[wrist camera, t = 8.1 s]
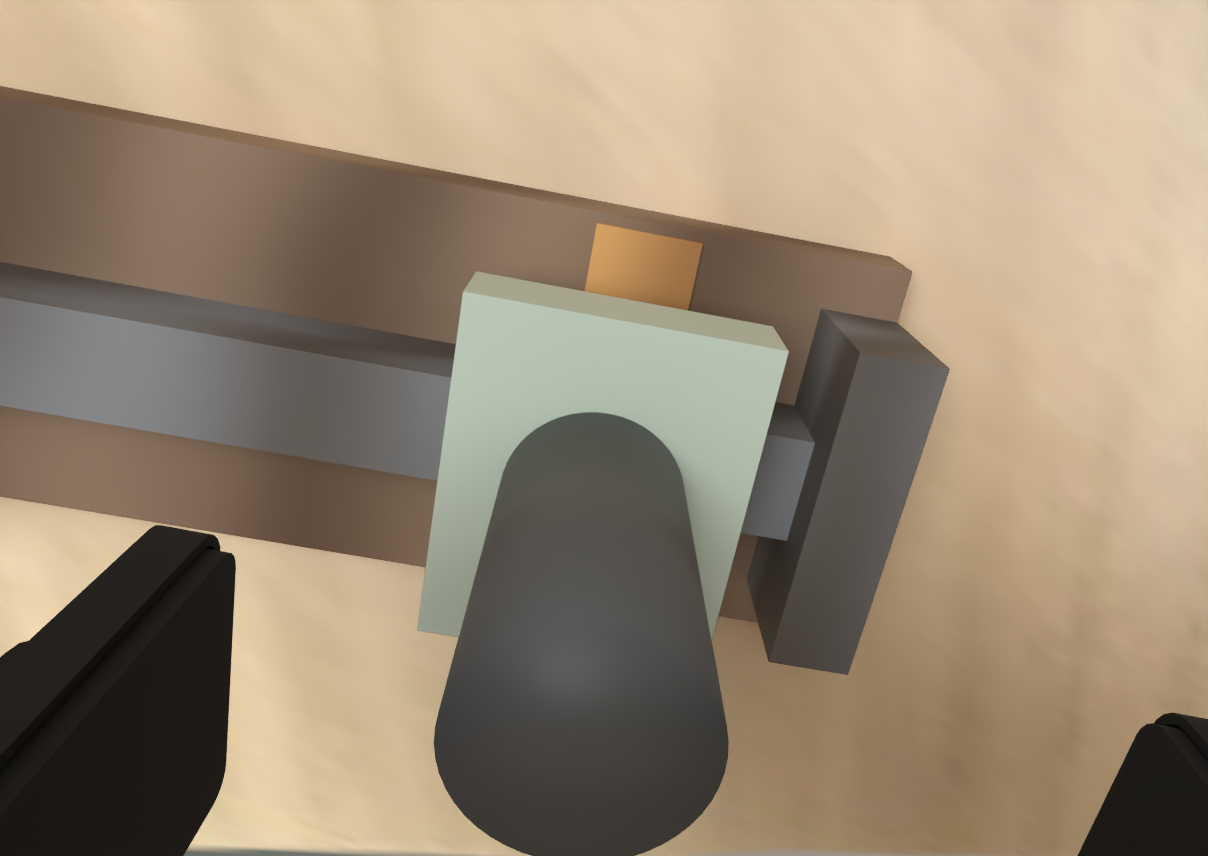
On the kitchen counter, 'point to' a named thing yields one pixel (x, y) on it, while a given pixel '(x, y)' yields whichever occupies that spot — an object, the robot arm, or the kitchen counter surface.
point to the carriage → (589, 559)
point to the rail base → (329, 270)
